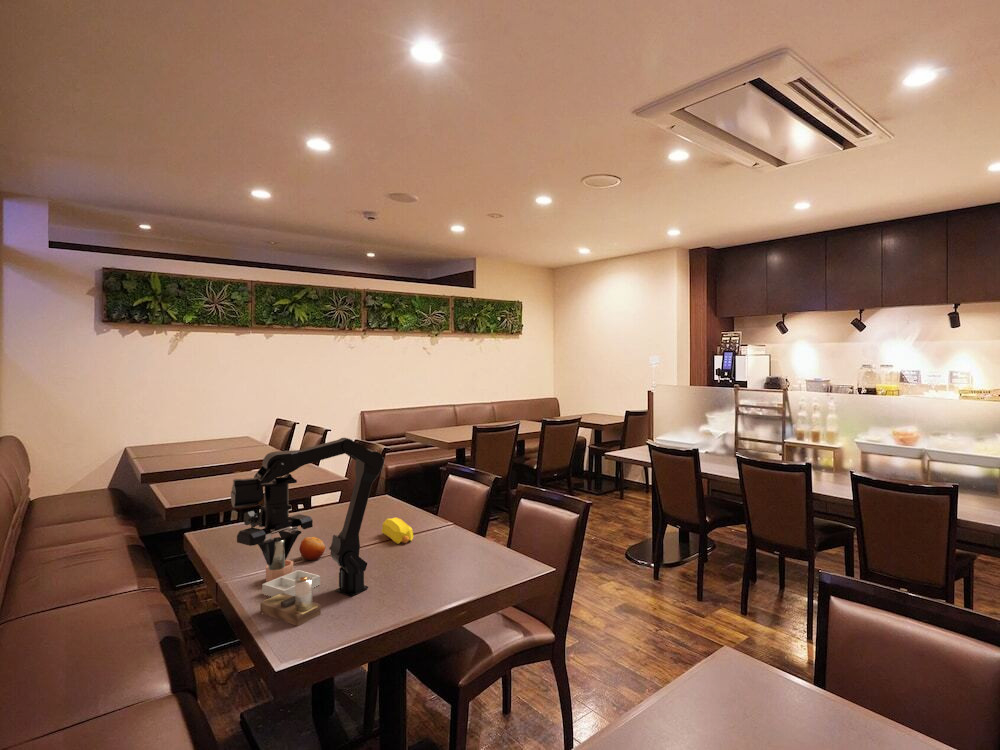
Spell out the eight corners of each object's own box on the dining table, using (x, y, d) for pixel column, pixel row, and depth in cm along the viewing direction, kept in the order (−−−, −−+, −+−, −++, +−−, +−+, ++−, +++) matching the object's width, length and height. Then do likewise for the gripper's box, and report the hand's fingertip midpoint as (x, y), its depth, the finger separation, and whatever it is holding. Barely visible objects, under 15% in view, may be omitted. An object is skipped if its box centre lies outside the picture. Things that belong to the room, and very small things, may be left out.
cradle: (321, 614, 134) (321, 600, 134) (298, 626, 128) (298, 611, 128) (282, 602, 141) (282, 588, 141) (259, 612, 135) (259, 598, 135)
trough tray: (320, 585, 152) (319, 575, 152) (284, 601, 142) (284, 590, 142) (298, 579, 156) (298, 569, 156) (262, 594, 146) (262, 584, 146)
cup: (298, 578, 157) (298, 562, 157) (277, 586, 151) (277, 570, 151) (282, 573, 161) (282, 558, 161) (261, 581, 155) (261, 565, 155)
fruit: (293, 552, 176) (306, 530, 177) (315, 562, 178) (327, 540, 179) (293, 560, 168) (306, 537, 169) (315, 570, 170) (329, 547, 172)
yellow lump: (396, 547, 185) (416, 543, 189) (396, 528, 185) (416, 524, 189) (378, 534, 200) (398, 530, 205) (378, 516, 200) (398, 513, 204)
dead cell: (288, 566, 137) (288, 537, 137) (275, 571, 134) (274, 541, 134) (278, 563, 139) (278, 534, 139) (264, 568, 136) (264, 538, 136)
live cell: (315, 606, 133) (315, 576, 132) (302, 613, 129) (302, 582, 129) (304, 603, 135) (304, 573, 134) (291, 609, 131) (291, 579, 131)
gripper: (286, 491, 149) (286, 546, 149) (223, 505, 133) (223, 568, 133) (314, 495, 143) (314, 553, 143) (251, 511, 127) (251, 576, 127)
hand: (276, 562), depth 137 cm, fingers closed on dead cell, 4 cm apart
